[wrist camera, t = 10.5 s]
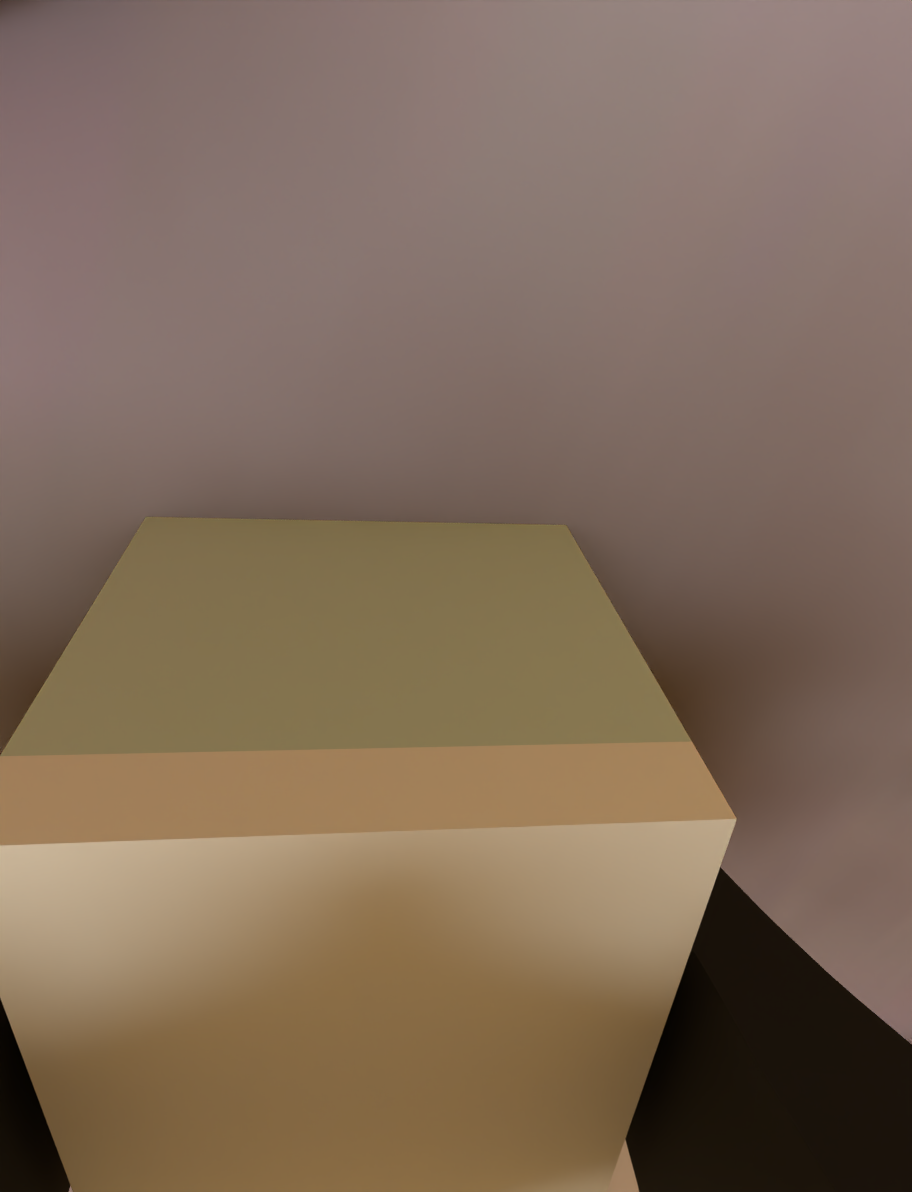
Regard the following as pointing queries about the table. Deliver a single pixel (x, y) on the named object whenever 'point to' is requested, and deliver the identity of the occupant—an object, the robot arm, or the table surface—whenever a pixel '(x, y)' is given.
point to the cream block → (348, 864)
